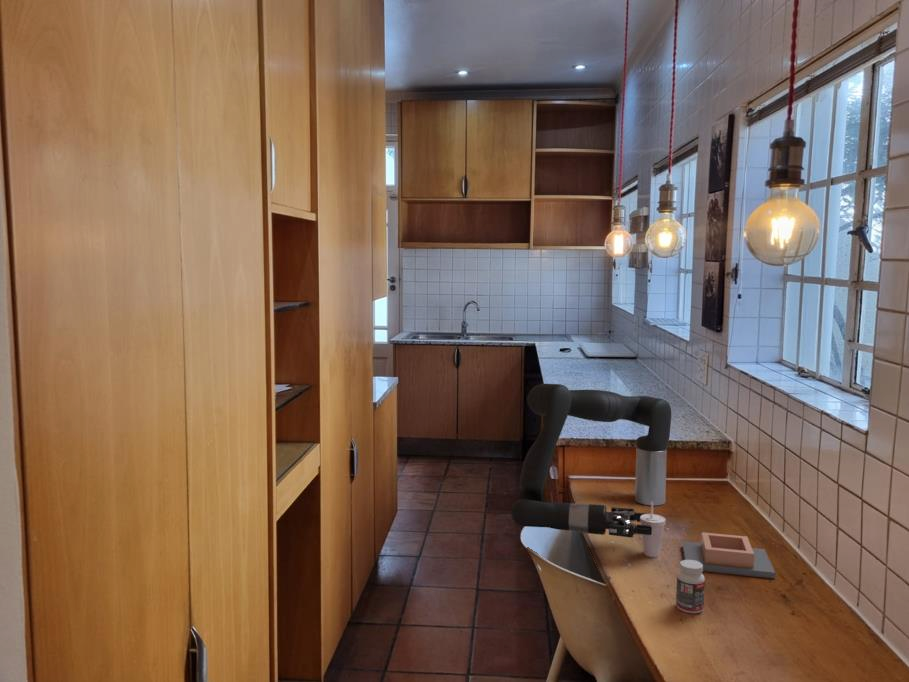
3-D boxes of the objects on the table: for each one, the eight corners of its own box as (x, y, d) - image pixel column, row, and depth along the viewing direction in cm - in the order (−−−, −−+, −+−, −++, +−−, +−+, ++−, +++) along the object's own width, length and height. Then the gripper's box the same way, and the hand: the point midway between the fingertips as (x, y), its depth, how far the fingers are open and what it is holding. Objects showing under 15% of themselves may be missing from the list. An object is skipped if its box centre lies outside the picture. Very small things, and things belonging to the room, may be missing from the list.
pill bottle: (700, 617, 143) (702, 572, 142) (673, 610, 146) (674, 565, 145) (706, 605, 148) (707, 562, 147) (679, 599, 151) (681, 556, 150)
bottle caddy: (682, 546, 179) (683, 528, 179) (764, 554, 174) (765, 536, 174) (686, 569, 166) (686, 549, 166) (774, 578, 161) (775, 558, 160)
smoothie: (634, 554, 175) (635, 502, 173) (646, 547, 179) (647, 495, 178) (657, 561, 170) (659, 507, 169) (669, 553, 175) (670, 501, 174)
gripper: (585, 514, 171) (652, 520, 167) (589, 495, 185) (651, 501, 181) (585, 542, 172) (651, 549, 168) (589, 522, 186) (650, 528, 181)
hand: (651, 524), depth 174 cm, fingers open, 8 cm apart
